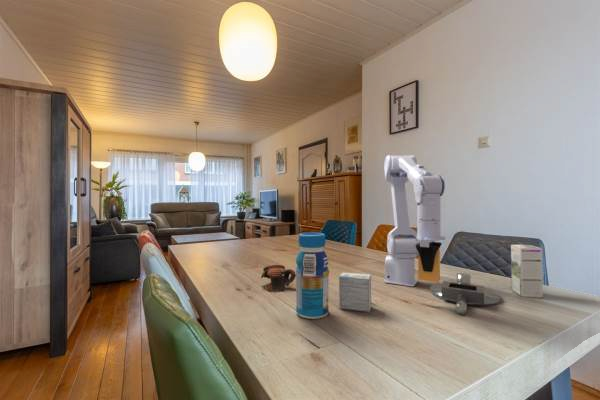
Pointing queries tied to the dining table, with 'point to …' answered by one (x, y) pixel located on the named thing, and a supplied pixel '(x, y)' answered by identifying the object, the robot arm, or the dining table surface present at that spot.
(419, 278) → the orange rectangular block
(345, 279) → the medicine box
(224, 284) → the dining table surface
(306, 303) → the beverage bottle
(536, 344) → the dining table surface
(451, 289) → the rosette joint
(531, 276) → the syrup box
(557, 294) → the dining table surface
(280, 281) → the pottery mug
